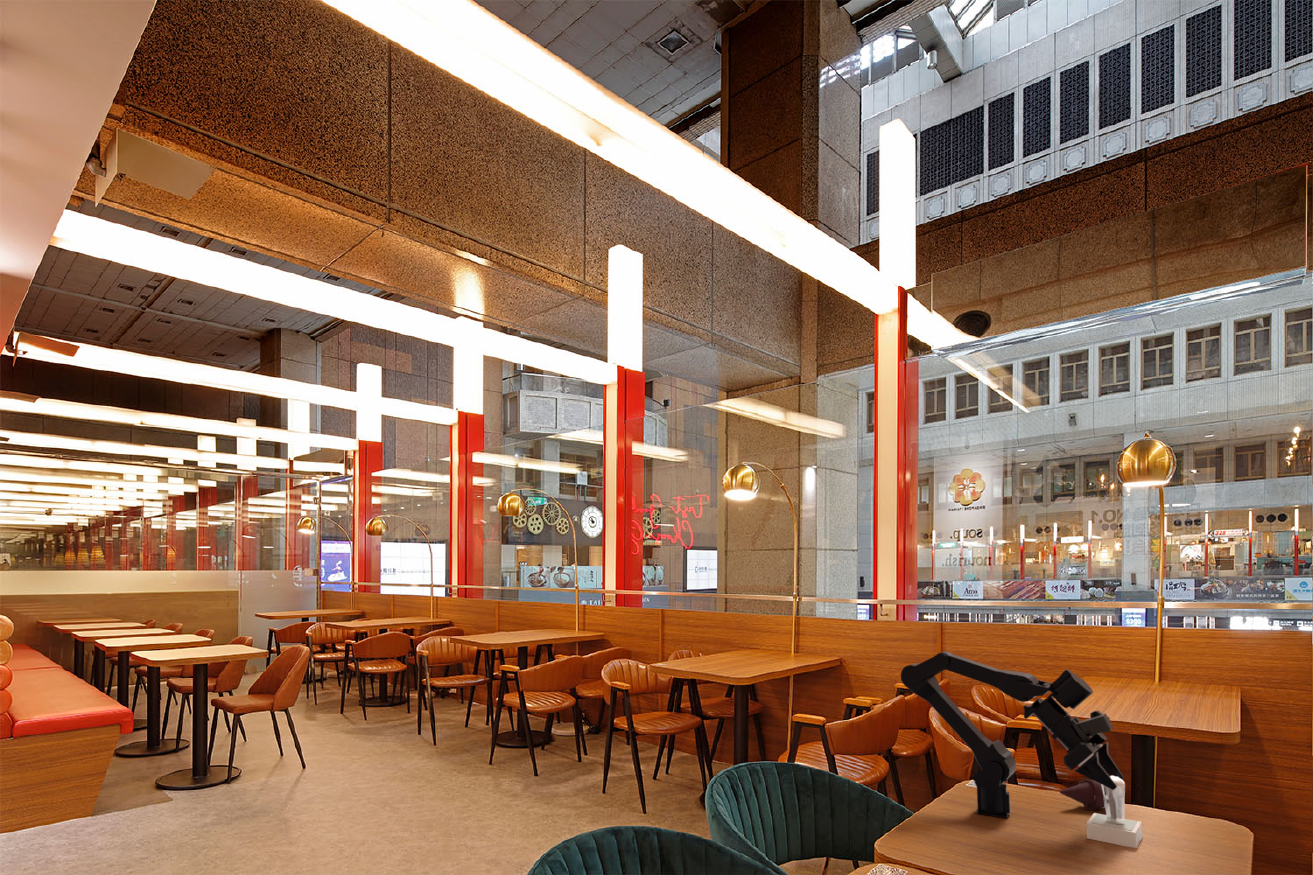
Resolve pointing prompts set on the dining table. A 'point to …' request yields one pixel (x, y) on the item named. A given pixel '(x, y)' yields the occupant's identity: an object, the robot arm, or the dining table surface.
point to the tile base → (1114, 831)
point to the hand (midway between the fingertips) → (1118, 783)
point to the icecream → (1086, 794)
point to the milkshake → (1114, 801)
